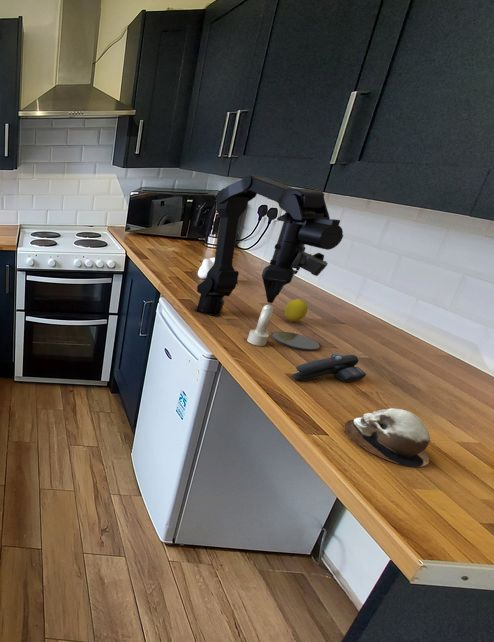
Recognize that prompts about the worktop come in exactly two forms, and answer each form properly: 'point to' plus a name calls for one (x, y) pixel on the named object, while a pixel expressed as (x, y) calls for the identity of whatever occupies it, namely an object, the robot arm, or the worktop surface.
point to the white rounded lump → (205, 267)
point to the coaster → (295, 341)
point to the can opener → (331, 368)
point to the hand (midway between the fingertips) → (272, 298)
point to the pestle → (261, 328)
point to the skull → (392, 436)
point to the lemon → (296, 310)
